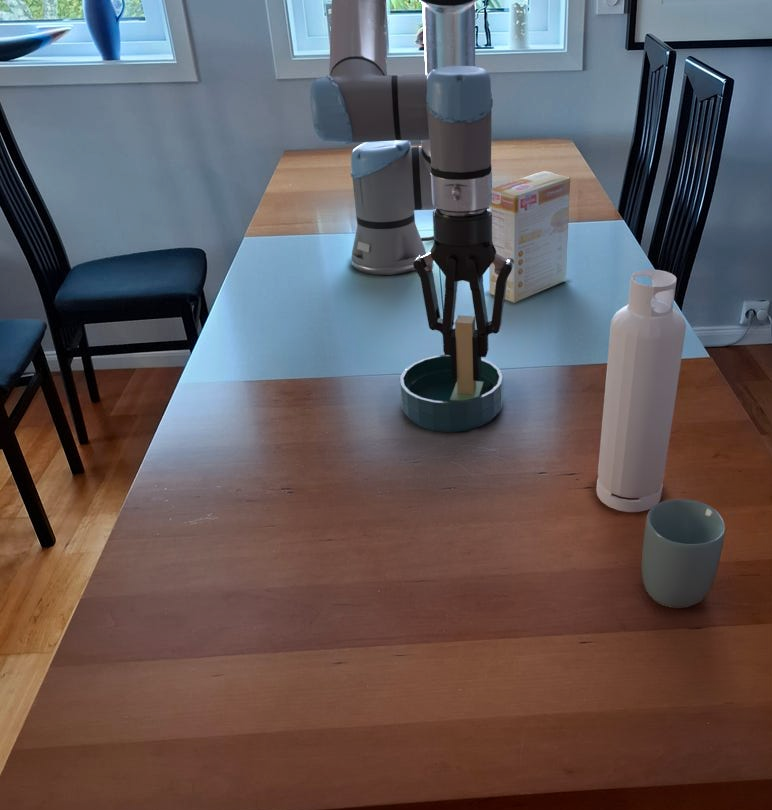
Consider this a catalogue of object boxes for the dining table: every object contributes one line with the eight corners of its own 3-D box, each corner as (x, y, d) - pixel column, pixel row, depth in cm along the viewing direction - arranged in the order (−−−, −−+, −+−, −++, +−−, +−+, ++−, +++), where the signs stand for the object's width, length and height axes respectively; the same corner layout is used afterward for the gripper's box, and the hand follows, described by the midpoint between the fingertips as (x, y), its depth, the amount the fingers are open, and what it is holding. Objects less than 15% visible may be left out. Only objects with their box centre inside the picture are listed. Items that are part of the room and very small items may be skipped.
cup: (629, 572, 90) (638, 500, 84) (697, 567, 90) (711, 495, 84) (646, 622, 84) (658, 548, 78) (720, 616, 84) (737, 543, 78)
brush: (457, 393, 121) (454, 309, 113) (484, 395, 121) (483, 311, 113) (450, 414, 117) (446, 327, 108) (477, 416, 116) (475, 329, 108)
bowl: (414, 380, 126) (412, 351, 123) (508, 386, 124) (508, 357, 121) (391, 430, 115) (388, 399, 112) (494, 437, 113) (494, 406, 110)
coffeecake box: (540, 272, 162) (543, 169, 150) (567, 281, 158) (572, 177, 146) (487, 293, 154) (486, 187, 142) (514, 303, 149) (515, 195, 138)
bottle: (620, 519, 98) (645, 298, 81) (583, 485, 103) (599, 272, 86) (674, 500, 101) (709, 283, 84) (635, 468, 106) (660, 259, 89)
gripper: (395, 214, 100) (408, 384, 114) (519, 218, 98) (517, 391, 112) (408, 196, 106) (419, 360, 120) (526, 200, 104) (523, 366, 118)
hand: (466, 375), depth 116 cm, fingers closed on brush, 2 cm apart
